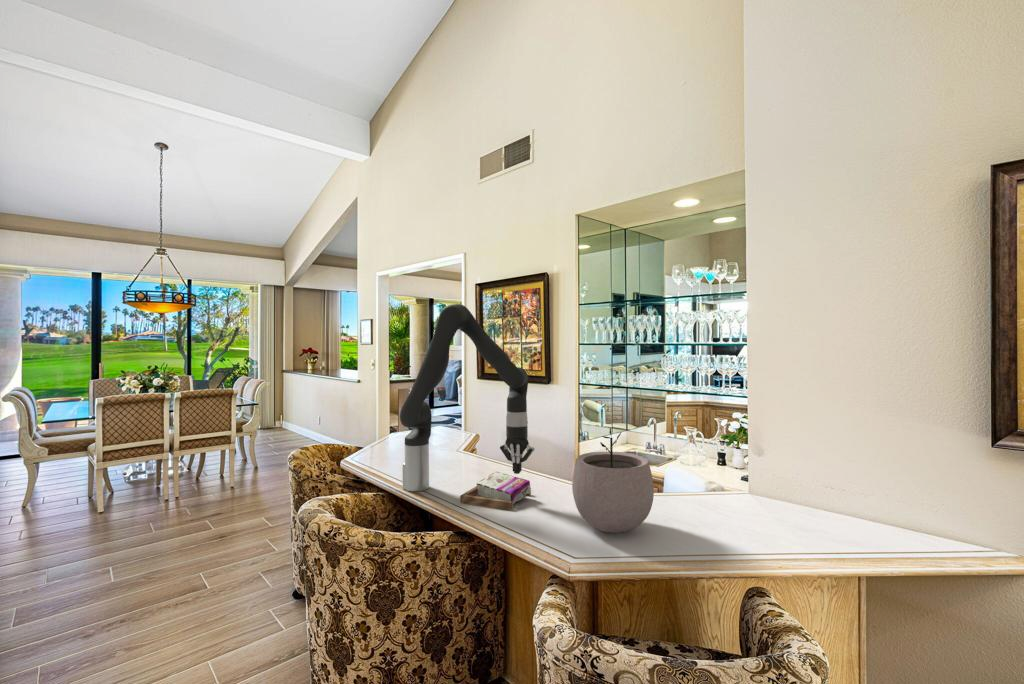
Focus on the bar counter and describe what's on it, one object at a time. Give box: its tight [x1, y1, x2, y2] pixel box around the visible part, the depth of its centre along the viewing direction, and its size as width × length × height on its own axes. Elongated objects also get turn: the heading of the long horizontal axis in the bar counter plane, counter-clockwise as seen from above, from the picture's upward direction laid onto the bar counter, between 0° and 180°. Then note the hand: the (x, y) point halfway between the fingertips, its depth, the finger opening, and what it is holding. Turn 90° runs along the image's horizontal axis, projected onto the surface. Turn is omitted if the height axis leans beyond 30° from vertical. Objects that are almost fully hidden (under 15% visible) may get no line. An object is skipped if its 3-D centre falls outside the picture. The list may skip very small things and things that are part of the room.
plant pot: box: [571, 427, 655, 534], centre depth 141 cm, size 24×24×30 cm
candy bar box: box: [476, 471, 532, 506], centre depth 170 cm, size 11×5×16 cm
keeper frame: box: [459, 485, 532, 511], centre depth 169 cm, size 20×18×2 cm
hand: (517, 473), depth 166 cm, fingers closed
